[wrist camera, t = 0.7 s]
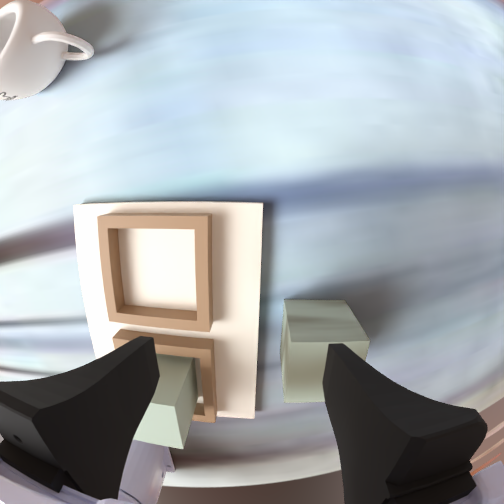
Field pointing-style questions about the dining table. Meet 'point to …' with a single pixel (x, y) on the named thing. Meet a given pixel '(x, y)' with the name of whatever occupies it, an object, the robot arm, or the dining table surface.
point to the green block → (314, 344)
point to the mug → (33, 49)
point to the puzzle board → (177, 302)
